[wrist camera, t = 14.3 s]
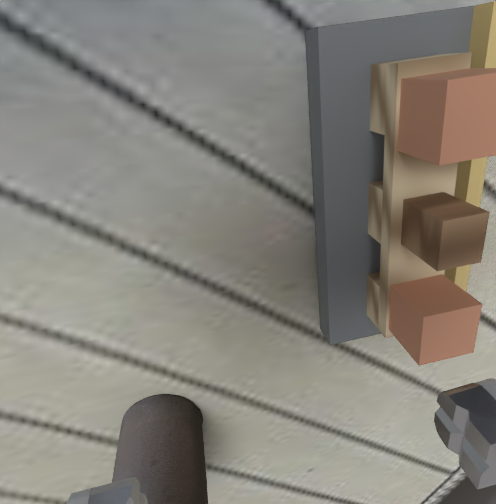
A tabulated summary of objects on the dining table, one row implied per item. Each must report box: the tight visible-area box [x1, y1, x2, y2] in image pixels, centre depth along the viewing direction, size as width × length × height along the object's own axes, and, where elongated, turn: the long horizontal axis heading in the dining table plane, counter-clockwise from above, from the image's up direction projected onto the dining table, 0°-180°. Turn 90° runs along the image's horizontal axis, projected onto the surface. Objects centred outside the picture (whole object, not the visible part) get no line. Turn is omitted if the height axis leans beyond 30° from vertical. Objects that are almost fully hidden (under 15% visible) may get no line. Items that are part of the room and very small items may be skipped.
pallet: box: [367, 52, 489, 338], centre depth 31 cm, size 24×6×9 cm, turn 8°
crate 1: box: [398, 68, 496, 166], centre depth 25 cm, size 5×5×5 cm
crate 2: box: [389, 274, 482, 365], centre depth 33 cm, size 5×5×5 cm
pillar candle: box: [112, 394, 208, 504], centre depth 39 cm, size 10×10×15 cm
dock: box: [305, 1, 496, 345], centre depth 35 cm, size 30×14×5 cm, turn 8°
